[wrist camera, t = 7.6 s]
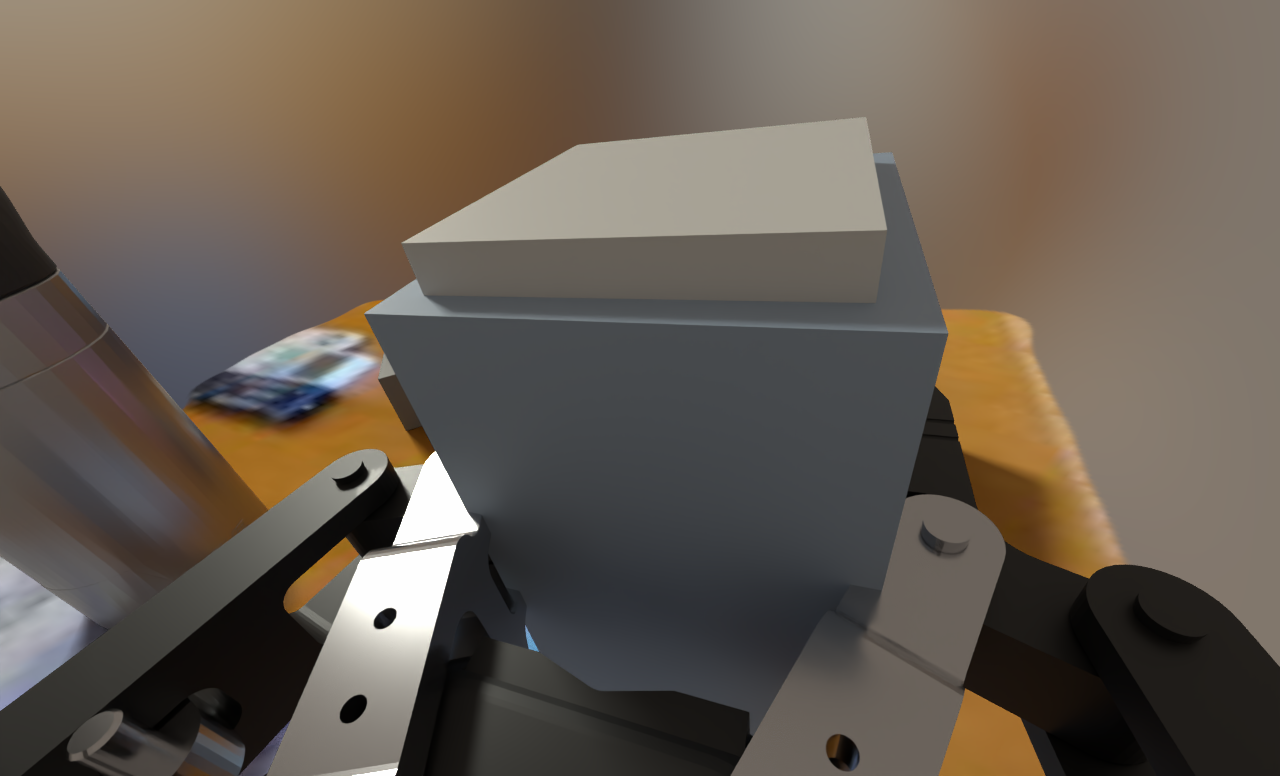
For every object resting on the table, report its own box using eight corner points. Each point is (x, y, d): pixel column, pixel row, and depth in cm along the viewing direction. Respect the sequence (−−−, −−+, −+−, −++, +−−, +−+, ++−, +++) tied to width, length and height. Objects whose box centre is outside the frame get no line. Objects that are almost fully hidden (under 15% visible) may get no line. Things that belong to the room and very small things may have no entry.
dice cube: (410, 397, 43) (385, 348, 40) (468, 380, 44) (447, 331, 41) (406, 431, 39) (377, 379, 36) (470, 412, 40) (447, 359, 37)
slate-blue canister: (578, 727, 12) (337, 260, 5) (647, 537, 16) (565, 141, 9) (825, 809, 10) (969, 252, 3) (830, 571, 14) (898, 108, 7)
